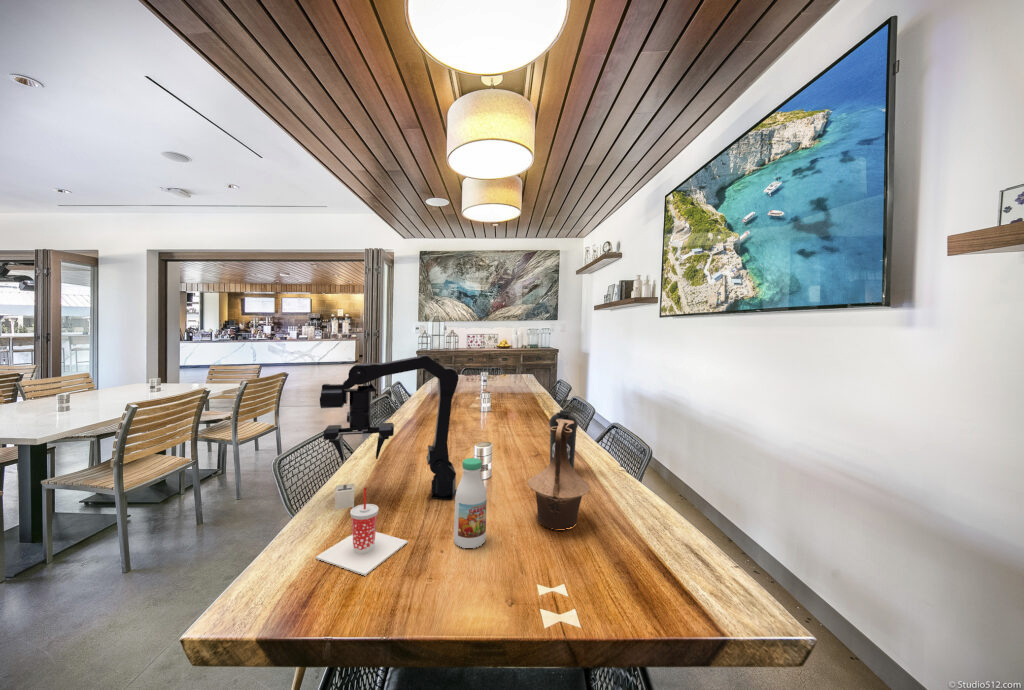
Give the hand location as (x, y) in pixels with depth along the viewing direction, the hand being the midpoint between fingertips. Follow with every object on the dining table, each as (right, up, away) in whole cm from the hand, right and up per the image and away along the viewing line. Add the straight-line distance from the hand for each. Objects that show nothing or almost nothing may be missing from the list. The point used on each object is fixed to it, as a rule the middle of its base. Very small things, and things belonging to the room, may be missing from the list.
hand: (360, 459), depth 114 cm
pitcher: (+57, -15, -7) cm, 59 cm away
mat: (+10, -14, -24) cm, 30 cm away
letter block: (-4, -13, -1) cm, 13 cm away
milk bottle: (+34, -15, -18) cm, 41 cm away
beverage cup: (+10, -13, -24) cm, 29 cm away
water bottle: (+62, -14, +28) cm, 70 cm away
